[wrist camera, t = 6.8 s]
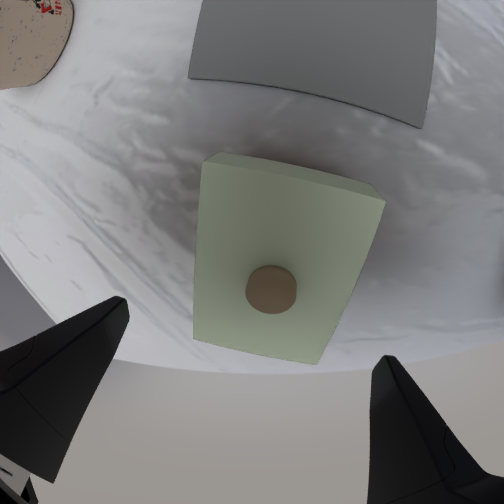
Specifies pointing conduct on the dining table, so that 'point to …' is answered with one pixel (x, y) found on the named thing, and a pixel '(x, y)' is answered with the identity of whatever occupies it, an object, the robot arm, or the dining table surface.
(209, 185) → the lid
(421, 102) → the mat
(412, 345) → the dining table surface
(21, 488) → the robot arm
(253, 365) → the dining table surface
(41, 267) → the dining table surface
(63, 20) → the teacup with lid
